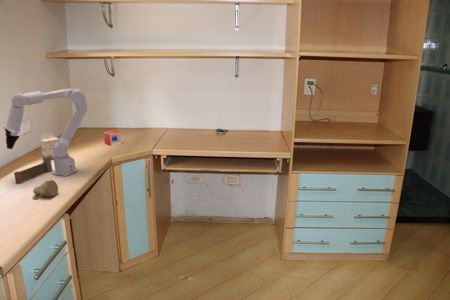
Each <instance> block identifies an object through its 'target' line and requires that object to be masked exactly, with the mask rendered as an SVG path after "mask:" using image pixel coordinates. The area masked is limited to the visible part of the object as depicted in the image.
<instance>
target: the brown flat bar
mask: <svg viewBox="0 0 450 300" xmlns="http://www.w3.org/2000/svg"><path fill="white" fill-rule="evenodd" d="M44 173H48V172H47V170H46V164H45V162H44V161H43V162H41V163H39V164H36V165H34V166H31V167H28V168H25V169H23V170H20V171H14V172H13V174H14V179H15V183H16V184H20V183H22V182H24V181H27V180H30V179H33V178H35V177H36V176H39V175H42V174H44Z"/></svg>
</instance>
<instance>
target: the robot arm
mask: <svg viewBox="0 0 450 300" xmlns="http://www.w3.org/2000/svg"><path fill="white" fill-rule="evenodd" d="M61 98H63V99H65V100H71V102H72V103H73V104H74V107H75V112H74V113H73V115H72V117H71V118H70V120H69V122H68V124H67V125H66V127H65V129H64V131H63V132H62V135H61V136H60V137H59V140H58V141H57V142H56V143H55V144H54V146H53V154H54V156H53V159H54V160H53V165H54V170H55V171H53V172H51V175H56V176H62V177H67V176H69V175H72V174H73V173H74V174H75V173H77V172H78V170H77V169H76V162H75V159H74V158H73V157H72V156H70V154H69V153H68V148H69V146H70V143H71V141H72V139H73V137H74V136H75V133H76V132H77V130H78V129H79V126H80V125H81V122H82V121H83V119H84V118H85V115H86V114H87V112H88V108H87V100H86V96H85V94H84V92H83V90H81V89H80V88H78V87H77V88H76V87H74V88H62V89H59V90H53V91H47V92H42V91H40V90H37V89H35V90H33V91H30V92H25V91H24V92H21V93H16V94H14V95H13V97H12V99H11V105H10V108H9V111H8V112H9V114H8V118H7V122H6V125H3V126H2V129H4V131H5V143H6V149H8V150H13V148H14V146H15V144H16V142H17V141H18V140H19V139H20V135H17V134H19V132H20V131H21V126H22V122H23V118H24V113H25V106H32V105H37V104H39V105H40V104H43V103H44V102H45V101H46V100H53V99H61Z"/></svg>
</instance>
